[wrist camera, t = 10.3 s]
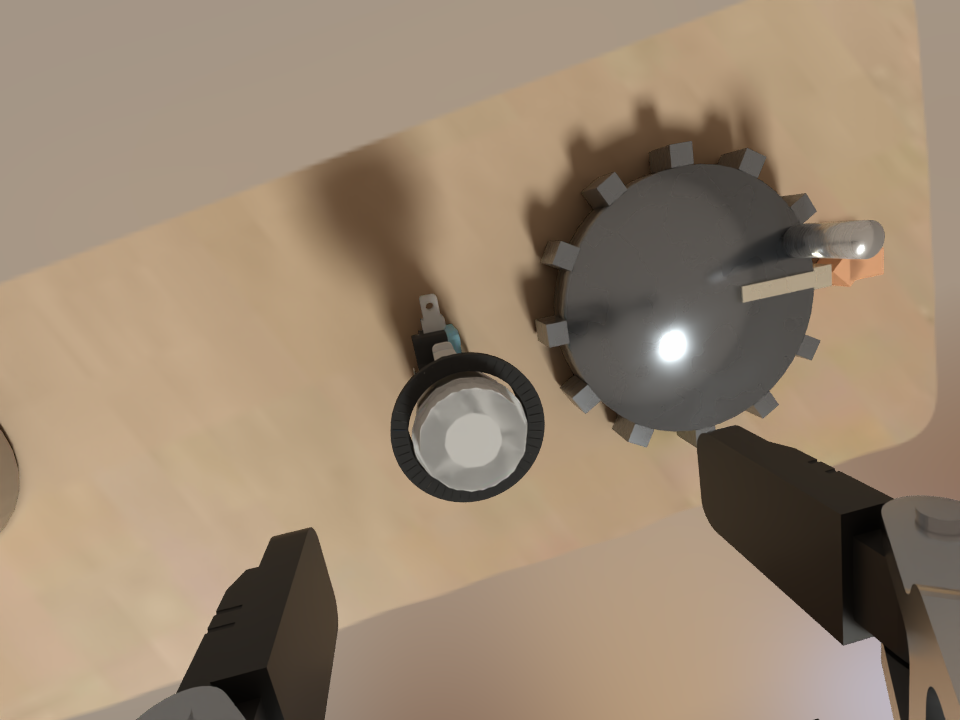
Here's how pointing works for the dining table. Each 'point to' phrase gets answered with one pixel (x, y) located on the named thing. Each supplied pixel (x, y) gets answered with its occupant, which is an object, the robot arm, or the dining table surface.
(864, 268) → the pointer block
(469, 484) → the push button
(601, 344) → the sprocket wheel
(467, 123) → the dining table surface
